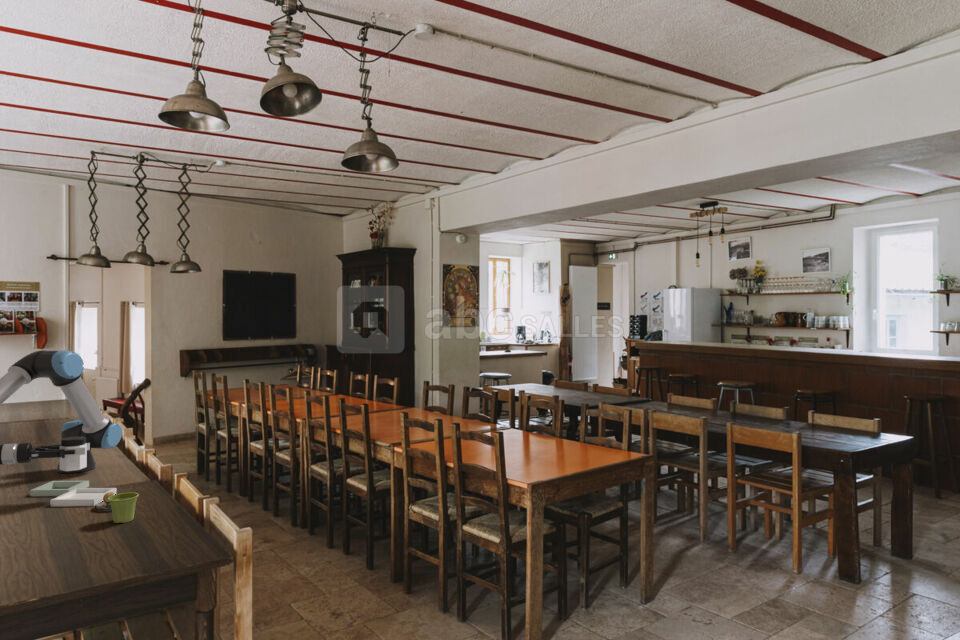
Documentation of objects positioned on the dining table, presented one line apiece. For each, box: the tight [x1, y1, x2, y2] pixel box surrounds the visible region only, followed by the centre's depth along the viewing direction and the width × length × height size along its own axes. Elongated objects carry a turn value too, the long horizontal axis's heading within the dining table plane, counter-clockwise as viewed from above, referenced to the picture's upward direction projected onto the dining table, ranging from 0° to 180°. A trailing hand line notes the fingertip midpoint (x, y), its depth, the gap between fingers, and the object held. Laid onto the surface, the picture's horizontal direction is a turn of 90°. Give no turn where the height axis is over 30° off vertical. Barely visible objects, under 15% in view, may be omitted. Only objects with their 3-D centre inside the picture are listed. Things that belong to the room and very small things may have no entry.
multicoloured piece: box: [94, 491, 114, 513], centre depth 234 cm, size 12×12×8 cm
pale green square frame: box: [29, 480, 90, 497], centre depth 255 cm, size 14×15×2 cm
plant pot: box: [108, 492, 140, 524], centre depth 219 cm, size 9×9×9 cm
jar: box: [59, 436, 87, 471], centre depth 244 cm, size 9×8×12 cm
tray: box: [50, 487, 118, 507], centre depth 243 cm, size 16×16×2 cm
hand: (87, 448), depth 246 cm, fingers closed on jar, 8 cm apart
